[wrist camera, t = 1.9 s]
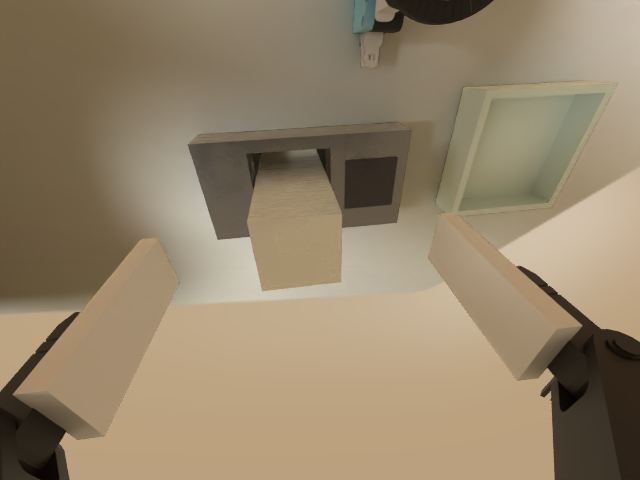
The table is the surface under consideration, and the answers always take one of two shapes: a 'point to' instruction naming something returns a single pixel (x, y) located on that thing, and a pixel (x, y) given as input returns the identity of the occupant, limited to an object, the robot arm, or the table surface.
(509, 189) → the parts tray
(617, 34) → the table surface
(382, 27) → the push button
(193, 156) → the dark gray slotted holder
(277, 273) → the block
